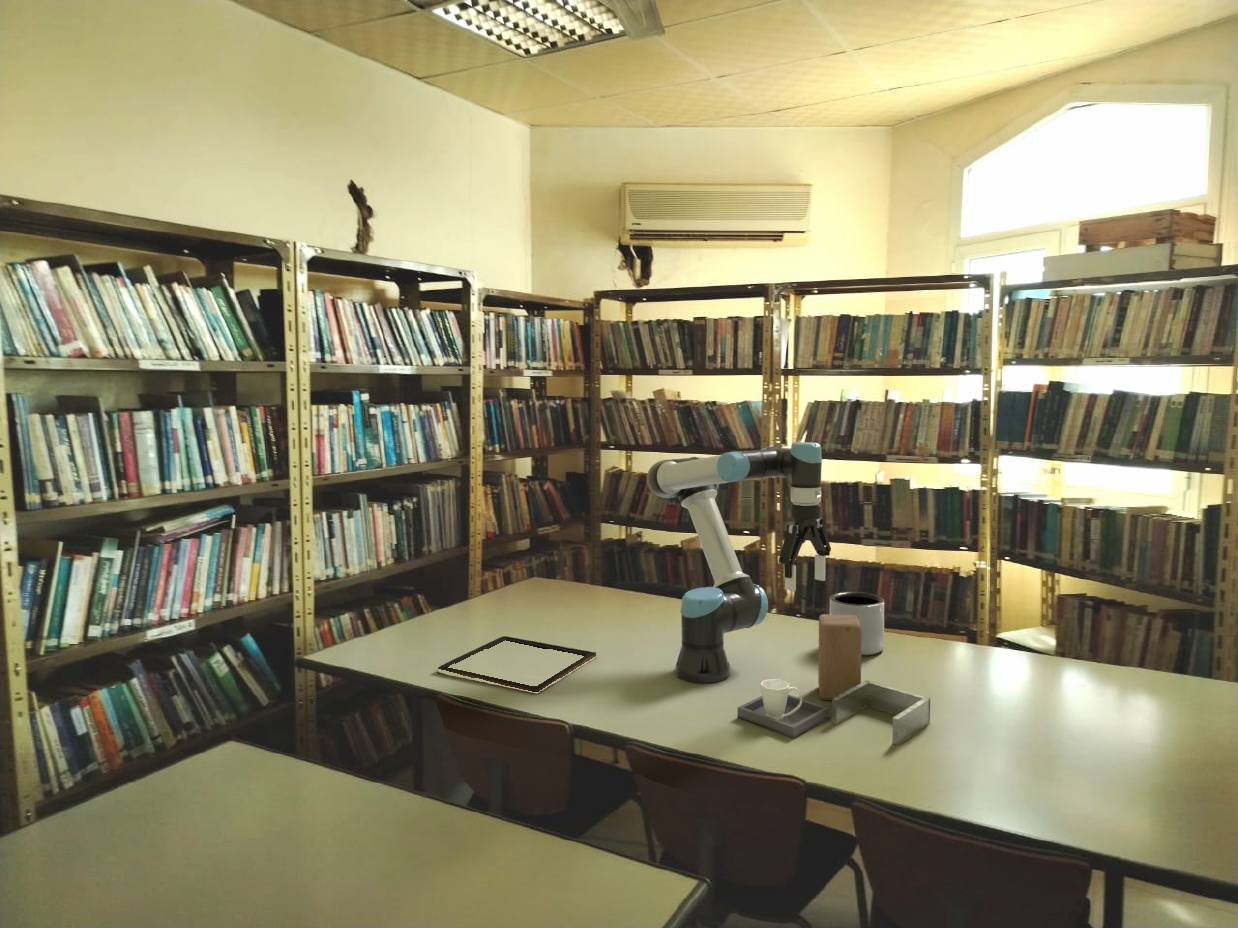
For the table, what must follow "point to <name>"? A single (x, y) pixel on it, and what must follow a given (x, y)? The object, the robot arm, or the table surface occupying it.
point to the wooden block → (839, 654)
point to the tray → (789, 725)
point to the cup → (777, 698)
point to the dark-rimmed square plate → (586, 654)
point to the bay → (885, 707)
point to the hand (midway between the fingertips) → (805, 584)
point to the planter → (863, 617)
